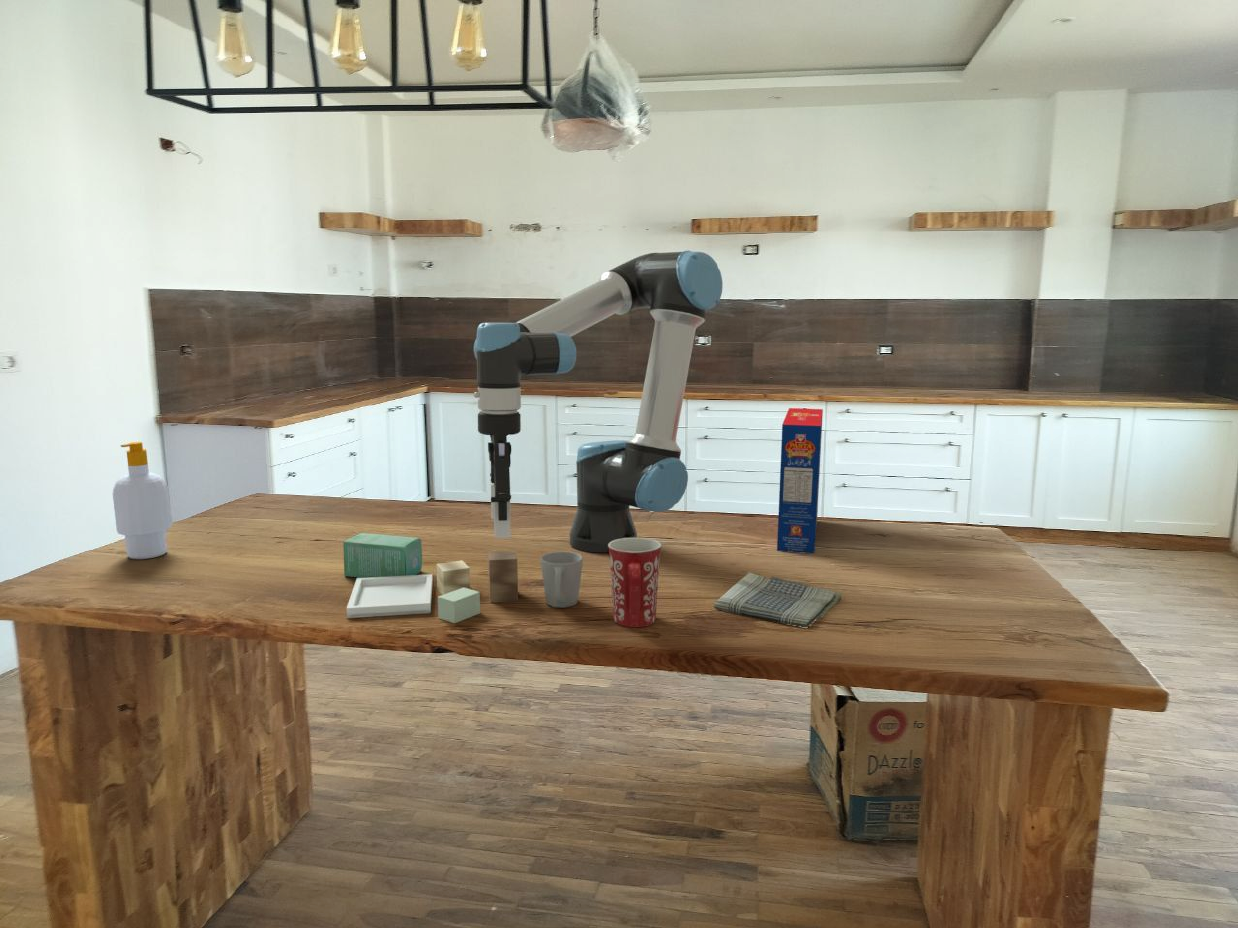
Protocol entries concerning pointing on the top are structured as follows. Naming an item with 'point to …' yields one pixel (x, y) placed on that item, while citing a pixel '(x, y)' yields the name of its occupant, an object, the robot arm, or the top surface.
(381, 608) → the tray
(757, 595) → the dish towel
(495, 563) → the walnut block
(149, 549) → the soap bottle
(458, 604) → the sage block
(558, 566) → the cup
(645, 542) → the mug
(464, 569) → the oak block
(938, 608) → the top surface
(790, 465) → the pasta box
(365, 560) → the box
